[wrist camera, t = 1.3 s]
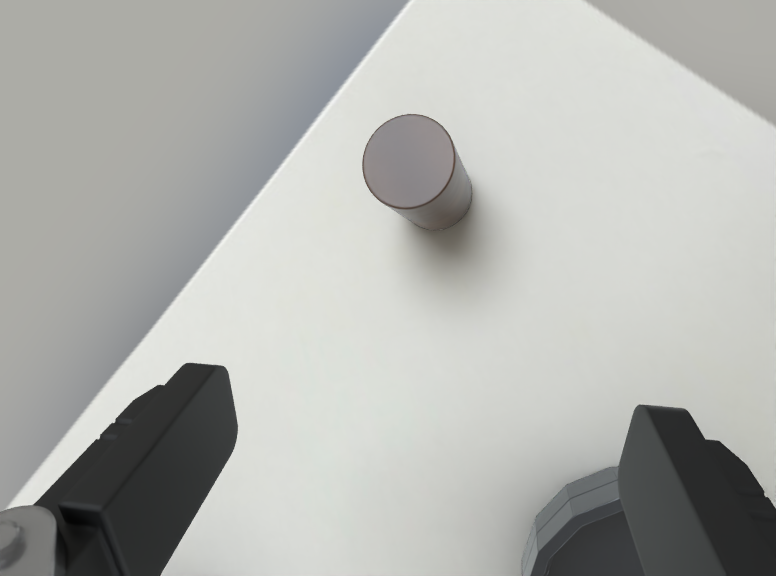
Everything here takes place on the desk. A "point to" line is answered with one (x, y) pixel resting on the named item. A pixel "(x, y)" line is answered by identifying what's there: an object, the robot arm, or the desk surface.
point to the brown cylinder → (417, 172)
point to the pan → (583, 532)
